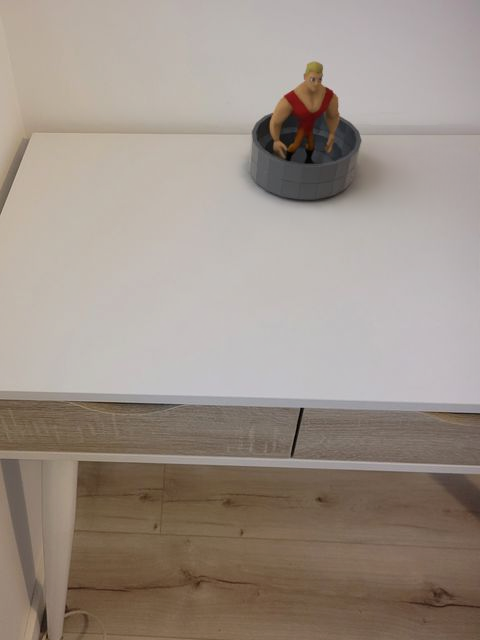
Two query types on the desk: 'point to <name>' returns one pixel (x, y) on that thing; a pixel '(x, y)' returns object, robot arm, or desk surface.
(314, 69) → the action figure
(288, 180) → the bowl
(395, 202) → the desk surface
